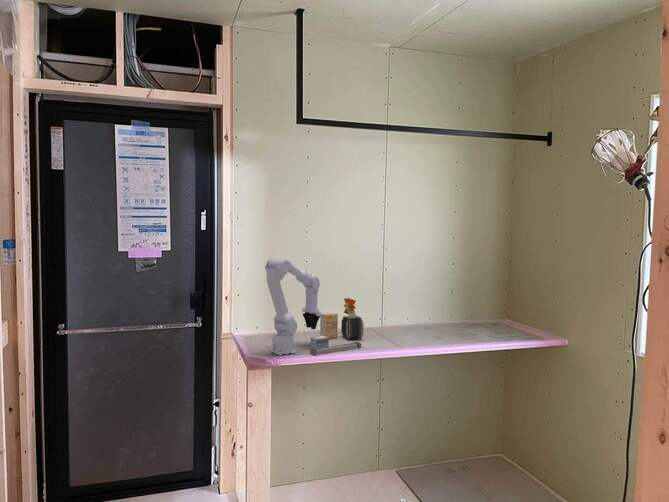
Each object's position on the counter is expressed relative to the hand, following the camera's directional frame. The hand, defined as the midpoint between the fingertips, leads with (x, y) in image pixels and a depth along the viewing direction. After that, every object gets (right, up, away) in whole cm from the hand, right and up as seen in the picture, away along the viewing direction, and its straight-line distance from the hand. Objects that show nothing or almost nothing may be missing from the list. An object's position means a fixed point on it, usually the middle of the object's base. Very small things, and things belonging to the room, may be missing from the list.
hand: (311, 328), depth 234 cm
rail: (+12, -9, -9) cm, 18 cm away
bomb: (+20, -8, +18) cm, 29 cm away
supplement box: (+8, -8, +16) cm, 20 cm away
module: (+4, -9, -6) cm, 11 cm away
